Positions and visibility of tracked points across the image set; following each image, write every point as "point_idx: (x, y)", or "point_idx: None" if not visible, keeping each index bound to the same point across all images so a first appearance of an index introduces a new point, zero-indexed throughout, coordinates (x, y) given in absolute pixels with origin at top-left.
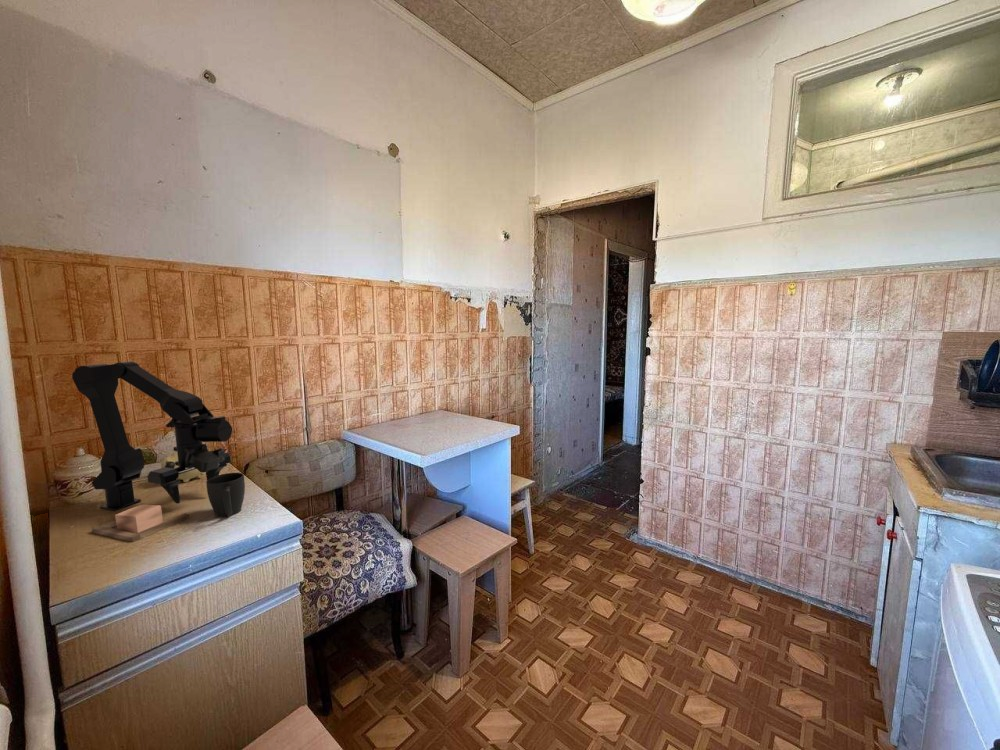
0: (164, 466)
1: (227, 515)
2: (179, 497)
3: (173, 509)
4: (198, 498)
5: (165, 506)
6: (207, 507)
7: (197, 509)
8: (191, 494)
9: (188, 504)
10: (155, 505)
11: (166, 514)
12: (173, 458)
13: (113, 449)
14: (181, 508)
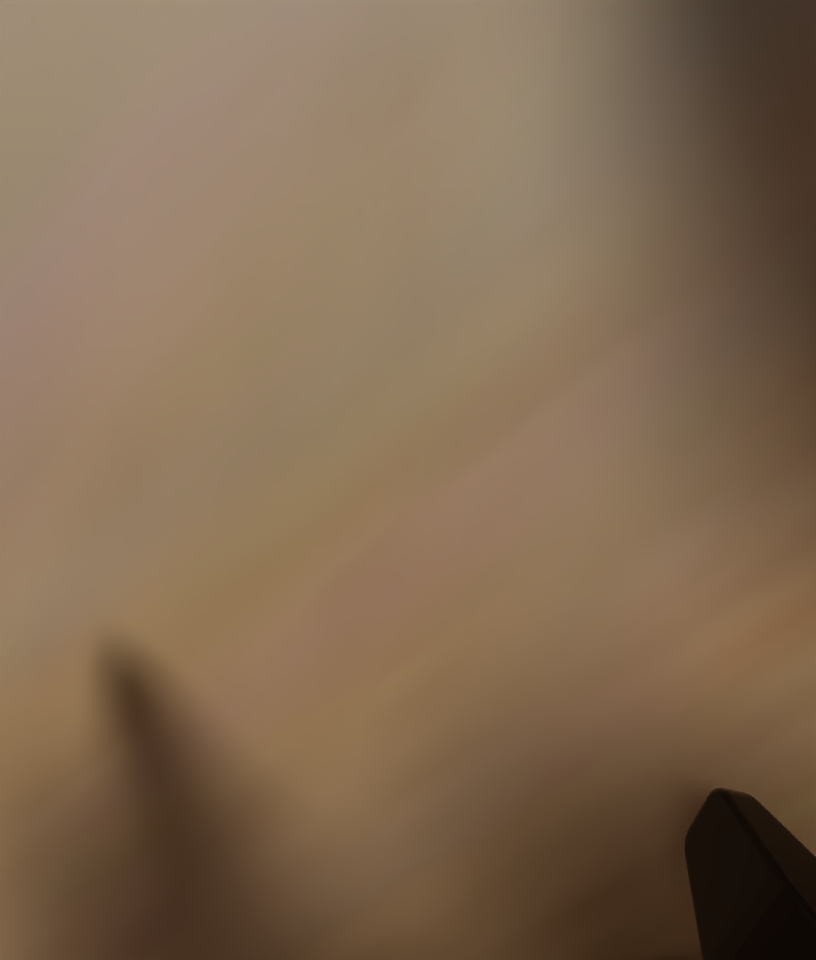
0: None
1: None
2: (802, 901)
3: (601, 795)
4: (159, 745)
5: (489, 948)
6: (531, 250)
7: (629, 399)
8: (62, 924)
9: (403, 723)
10: None
11: (795, 761)
12: None
13: None
14: (566, 714)
